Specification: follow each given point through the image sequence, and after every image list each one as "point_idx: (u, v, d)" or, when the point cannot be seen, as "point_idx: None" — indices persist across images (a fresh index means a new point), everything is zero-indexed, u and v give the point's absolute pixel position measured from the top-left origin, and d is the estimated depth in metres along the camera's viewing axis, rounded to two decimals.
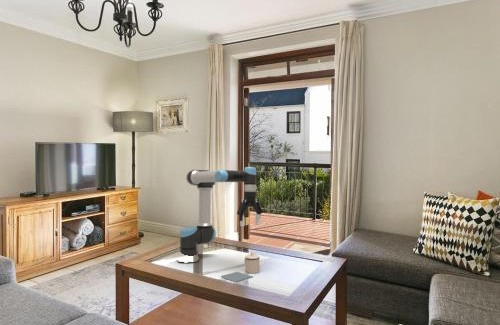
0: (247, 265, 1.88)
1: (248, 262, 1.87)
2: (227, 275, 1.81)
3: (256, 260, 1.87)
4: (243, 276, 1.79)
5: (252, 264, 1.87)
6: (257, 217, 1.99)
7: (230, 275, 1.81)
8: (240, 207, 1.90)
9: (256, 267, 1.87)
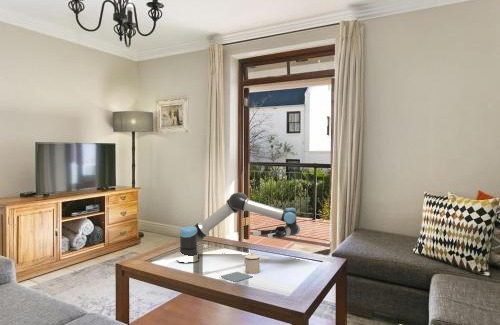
0: (247, 265, 1.88)
1: (248, 262, 1.87)
2: (227, 275, 1.81)
3: (256, 260, 1.87)
4: (243, 276, 1.79)
5: (252, 264, 1.87)
6: (258, 233, 2.07)
7: (230, 275, 1.81)
8: (282, 234, 2.01)
9: (256, 267, 1.87)
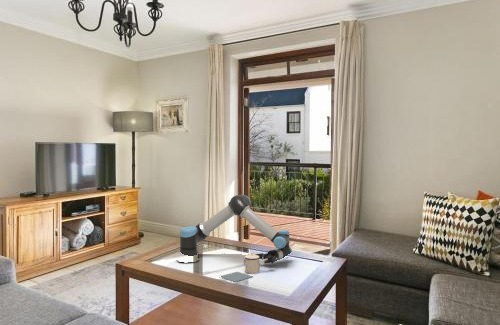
0: (247, 265, 1.88)
1: (248, 262, 1.87)
2: (227, 275, 1.81)
3: (256, 260, 1.87)
4: (243, 276, 1.79)
5: (253, 264, 1.87)
6: None
7: (230, 275, 1.81)
8: (274, 260, 1.94)
9: (256, 267, 1.87)
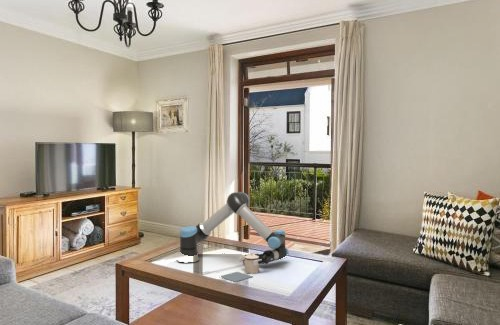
0: (247, 265, 1.87)
1: (248, 262, 1.87)
2: (227, 275, 1.81)
3: None
4: (243, 276, 1.79)
5: None
6: None
7: (230, 275, 1.81)
8: (269, 260, 1.92)
9: (256, 267, 1.87)
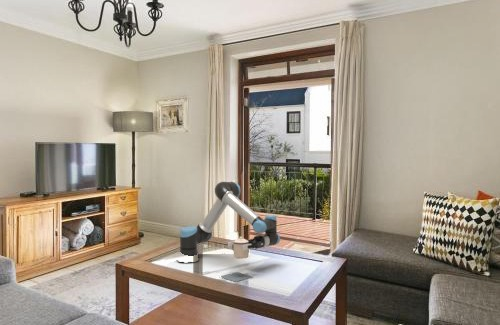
0: (236, 250, 1.78)
1: (237, 247, 1.77)
2: (227, 275, 1.81)
3: None
4: (243, 276, 1.79)
5: (242, 248, 1.77)
6: None
7: (230, 275, 1.81)
8: (259, 245, 1.82)
9: (245, 252, 1.78)
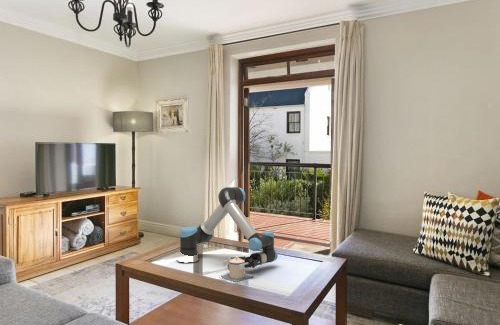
0: (232, 270, 1.74)
1: (233, 267, 1.74)
2: (227, 275, 1.81)
3: None
4: None
5: (238, 269, 1.74)
6: None
7: None
8: (256, 264, 1.79)
9: (241, 272, 1.75)
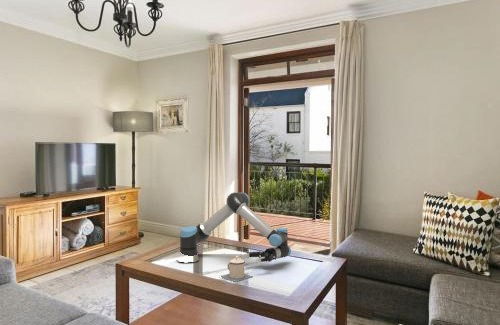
0: (232, 270, 1.74)
1: (233, 267, 1.74)
2: (227, 275, 1.81)
3: (242, 264, 1.75)
4: None
5: (238, 269, 1.74)
6: (246, 256, 1.94)
7: None
8: (271, 258, 1.89)
9: (241, 272, 1.75)
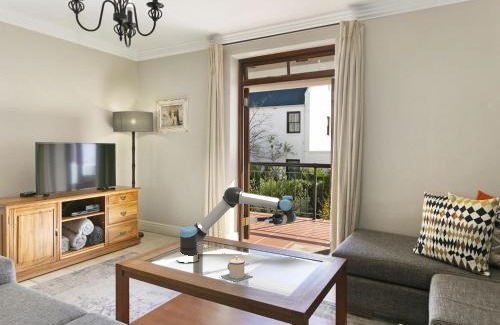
0: (232, 270, 1.74)
1: (233, 267, 1.74)
2: (227, 275, 1.81)
3: (242, 264, 1.75)
4: None
5: (238, 269, 1.74)
6: (255, 220, 2.06)
7: None
8: (278, 221, 2.00)
9: (241, 272, 1.75)
